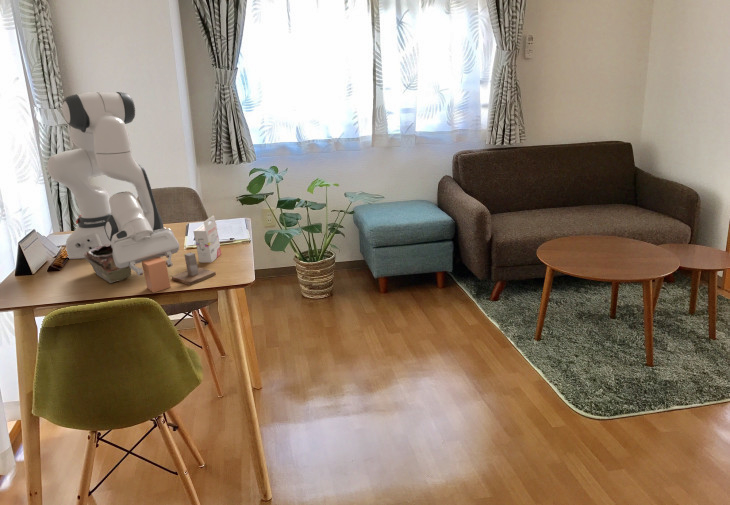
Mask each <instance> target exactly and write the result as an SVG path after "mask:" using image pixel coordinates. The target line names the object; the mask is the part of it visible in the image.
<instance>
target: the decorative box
mask: <svg viewBox="0 0 730 505" xmlns="http://www.w3.org/2000/svg"><path fill="white" fill-rule="evenodd" d="M112 253H113V249H112V247H111V244H108V245H104V246H99V247H96V248H93V249H91V250H89V251H88V252H86V253H85V254H84V256H85V258H84V259H85V261H87V263H89V265H91V267H92V269H93V271H94V273H95V274H96V275H97V276H98V277H100V278H101V279H103V280H105V281H107V283H109V284H113V283H115V282H118V281H119V282H121V280H122V281H123V280H124V279H126V278H128V277H131V276H132V269H130V266H127V267H124V268H118V267H116V265H115V262H114V259H113V255H112Z"/></svg>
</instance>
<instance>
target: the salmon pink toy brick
mask: <svg viewBox="0 0 730 505" xmlns="http://www.w3.org/2000/svg"><path fill="white" fill-rule="evenodd" d="M166 261H167V260H166V259H164V258H162V257H155V258H151V259H148V260H144V261H141V262H142V263H141V266H142V271H143V275H144V280H145V285H146V288H147V289H148V290H149V291H151V292H152V293H157V292H159V291H163V290H165V289H169V288H171V287H172V286H171V281H170V277H169V272H168V267H167V265H166Z"/></svg>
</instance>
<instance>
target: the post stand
mask: <svg viewBox="0 0 730 505" xmlns="http://www.w3.org/2000/svg"><path fill="white" fill-rule="evenodd" d="M183 256H184V259H185V260H184V261H185V265H186V266H185V267H186V270H185V271H182V272H180V273H177V274H174V275H171V280H173V281H176V282H179V283H182V284H186V285H188V286H192V285H194V284H196V283H199V282H202V281H204V280H207V279H209V278H211V277H214V276H216V274H217V273H216V271H213V270H210V269H206V268H203V267H200V266H198V262H197V257H196V253H195V252H188V253H185V254H183Z"/></svg>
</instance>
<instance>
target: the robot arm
mask: <svg viewBox="0 0 730 505" xmlns="http://www.w3.org/2000/svg"><path fill="white" fill-rule="evenodd" d="M61 111H62V115H63V118H64V121H65V123H66V124H67V125H69V127H70V131H69V132H70V133H69V135H70V136H69V137H70V140H71V142H72V143H73V144H74V145H75V146H76V147H77V148H75V149H70V150H66V151H61V152H58V153H56V154H54V155H51V156H49V158H48V160H47V164H46V169H47V172H48V175H49V176H50V178H52V180H53V181H55V182H57V183H59V184H61V185H64V186H65V187H66V188H67V189H69V191H71V193H72V194H73V196H74V198H75V200H76V203H77V206H78V209H79V212H80V213H79V214H80V215H79V216H78V218H76V220H75V224H76V225H78V227H77V228H76V229H74V231H73V232H72V233H70V235H69V236H68V237H67V239H66V241H65V250H66V251H67V254H68V256H67V257H68V258H69V260H73V259H75V260H76V259H85V256H84V254H85V253H86V252H88V251H89V250H91V249H93V248H96V247H99V246H104V245H108V244H111V247H112V249H113V253H112V255H113V259H114V262H115V265H116V267H118V268H124V267H127V266H130V269H131V271H134V272H135V273H136V275H137V277H140V276H143V275H144V271H143V267H140V268H139V267H137V266H136V265H138V264H142V262H141V261H144V260H148V259H151V258H155V257H161V258H162V257H163V258H164V257H165V258H166V260H165V261H166V266H167V268H171V267H173V262H172V255H173V254H177V253H178V252H179V249H180V243H179V241H178V239H177V238H176V236H175V234H174V231H173V230H172V229H171V228H167V227H164V223H163V219H162V217H161V215H160V214H161V213H160V212H159V210H158V207H157V204H156V201H155V197H154V193H153V189H152V186H151V183H150V181H149V177H148V175H147V172H146V170H145V168H144V167H143V165H141V164H139V163H137V162H136V160H135V158H134V155H133V151H132V144H131V138H130V135H129V132H128V127H127V124H131V123H132V122H133V121H134V119H135V116H136V107H135V102H134V99H133V98H132V97H131V96H130V95H129V94H128V93H127V92H121V91H115V92H111V91H102V92H101V91H99V92H88V91H87V92H82V93H80V94H71V95H68V96H65V97H64V99H63V102H62V110H61ZM104 175H105V176H106V177H108V178H111V179H114V180H118V181H121V182H126V183H130V184H131V185H132V186H133V187H135V190H136V193H137V197H138V199H137V198H136V196H135V195H134V194H133V193H132V192H131V191H120V192H117V193H114V194H112V195H111V196H110V194H109V193H108V191H107V189H105V188H103V187H100V186H97V185H92V183H91V181H90V179H91V178H97V177H99V176H101V177H102V176H104ZM138 200H139V201H138Z"/></svg>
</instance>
